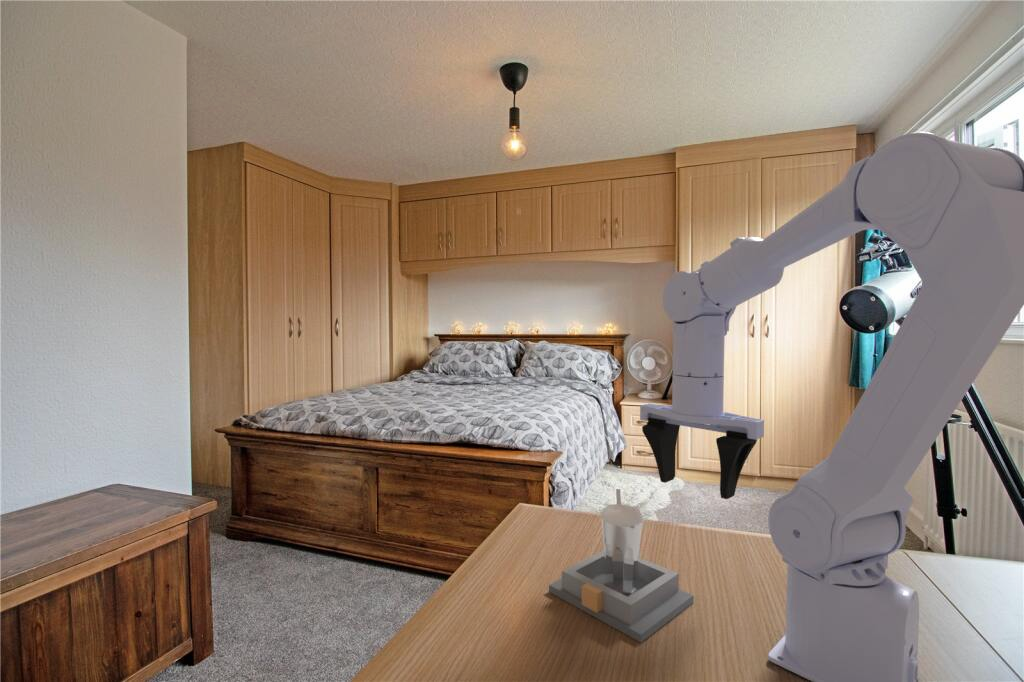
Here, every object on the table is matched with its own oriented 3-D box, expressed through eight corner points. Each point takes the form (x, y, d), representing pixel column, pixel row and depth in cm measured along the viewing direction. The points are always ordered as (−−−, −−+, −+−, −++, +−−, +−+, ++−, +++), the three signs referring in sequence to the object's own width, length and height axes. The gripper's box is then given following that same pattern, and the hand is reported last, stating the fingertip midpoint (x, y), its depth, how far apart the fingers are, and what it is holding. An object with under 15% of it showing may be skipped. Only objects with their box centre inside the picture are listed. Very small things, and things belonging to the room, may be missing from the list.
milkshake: (637, 573, 58) (638, 489, 58) (645, 599, 53) (646, 506, 53) (598, 571, 59) (598, 488, 58) (602, 597, 54) (603, 505, 53)
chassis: (693, 602, 54) (693, 577, 54) (639, 644, 47) (639, 615, 47) (603, 562, 63) (603, 540, 63) (547, 592, 56) (547, 568, 56)
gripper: (775, 377, 56) (773, 495, 57) (661, 368, 67) (660, 468, 68) (749, 382, 52) (747, 511, 52) (630, 372, 62) (629, 479, 63)
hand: (696, 488), depth 60 cm, fingers open, 7 cm apart
